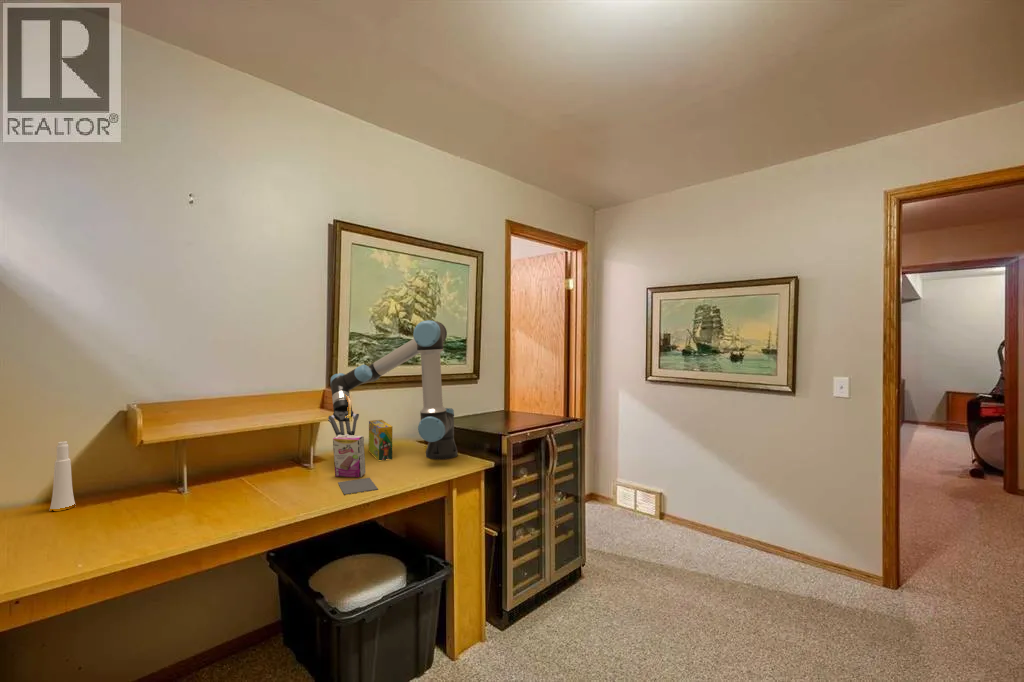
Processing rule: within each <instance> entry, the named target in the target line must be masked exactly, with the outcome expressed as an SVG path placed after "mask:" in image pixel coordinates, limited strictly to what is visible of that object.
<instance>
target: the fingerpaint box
mask: <svg viewBox="0 0 1024 682" xmlns="http://www.w3.org/2000/svg"><path fill="white" fill-rule="evenodd" d="M369 451H370V452H371V453H372V454H373V455H374V456H375V457H376V458H377V459H378V460H384V461H387V460H386V459H391V460H393V425H392V424H391V425H390V424H389V423H388V422H386V421H384V420H383V419H373V420H369V421H368V452H369ZM370 452H369V453H370ZM371 453H370V454H371ZM372 454H371V455H372ZM373 455H372V456H373ZM374 456H373V457H374ZM375 457H374V458H375ZM376 458H375V459H376ZM377 459H376V460H377ZM378 460H377V461H378Z"/></svg>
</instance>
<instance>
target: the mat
mask: <svg viewBox="0 0 1024 682" xmlns="http://www.w3.org/2000/svg"><path fill="white" fill-rule="evenodd" d="M337 484H339V485H338V486H339V488H340V490H341V492H342V494H343V493H344V494H343V496H346V495H345V494H349V495H352V494H351V493H355V494H358V493H357V492H361V493H365V492H364V491H367V492H371V491H372V490H373V491H377V490H379V487H377V485H376V484H375V483H374V481H373V480H372V479H371V478H370V477H365V478H358V479H351V480H345V481H344V480H343V481H339V482H337Z"/></svg>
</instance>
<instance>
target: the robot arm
mask: <svg viewBox="0 0 1024 682" xmlns="http://www.w3.org/2000/svg"><path fill="white" fill-rule="evenodd" d="M447 336H448V331H447V328H446V326H445V325H444V324H443V323H442V322H440V321H437V320H431V319H427V320H423V321H420V322H418V324H416V325H415V327H414V329H413V338H412V339H410V340H409V341H407V342H405V343H404V344H402V345H400V346H399V347H397V348H396V349H394V350H392V351H391V352H389V353H386V354H385V355H384V356H382V357H380V358H379V359H377V360H376V361H373V363H371V364H369V365H367V364H361V365H359V366H357V367H355V368H354V369H352V370H350V371H349V372H347V373H342V372H339V373H335V374H333V375H332V376H331V377H330V384H329V385H330V386H329V387H330V390H331V398H332V409H333V414H332V415H328V418H327V421H328V422H329V423H330V425H331V427H332V429H333V431H334V433H335V437H336V436H337V435H355V434H356V427H357V422H358V420H359V417H360V413H354V411H353V408H352V406H351V418H352V419H353V423H352V428H351V423H350V420H349V418H347V417H346V418H345V416H347V415H348V411H347V407H348V402H347V400H346V396H345V394H346V395H347V396H349V398H350V399H351V397H350V391H352V390H354V389H355V388H357V387H359V386H360V385H363V384H367V383H372V382H375V381H377V380H379V378H381V377H382V376H384V375H385V374H387V373H389V372H391V371H392V370H394V369H396V368H397V367H399V366H401V365H402V364H404V363H405V362H407V361H409V360H411V359H412V358H413V357H416V356H417V355H419V354H420V364H421V386H422V402H423V403H422V404H423V407H422V409H421V410H420V413H419V414H420V421H419V423H418V427H417V433H418V434H419V436H420V438H421V439H423V440H424V441H425V442H428V443H427V446H426V450H425V457H426V458H427V459H430V460H447V459H448V460H449V459H454V458H455V457H457V456H458V448H457V445H456V441H455V437H454V436H455V411H454V409H453V408H450V407H444V406H443V403H444V402H443V388H442V386H443V385H442V384H443V383H442V369H441V368H442V366H441V364H442V363H441V353H442V352H443V350H444V342H445V341H446V339H447ZM328 419H329V420H328ZM336 421H338V424H339V426H338V425H337V422H336ZM344 424H345V425H344ZM344 426H345V427H344ZM345 429H346V433H345Z"/></svg>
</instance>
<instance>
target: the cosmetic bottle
mask: <svg viewBox="0 0 1024 682" xmlns="http://www.w3.org/2000/svg"><path fill="white" fill-rule="evenodd" d="M53 470H54V471H53V484H52V485H53V486H52V496H51V503H50V507H49V510H50V509H60V508H65V507H69V506H72V505H74V504H75V505H76V502H75V501H76V500H75V497H74V490H73V488H74V487H73V477H72V476H73V475H72V474H73V473H72V461H71V458H69V444H68V441H65V440H64V441H59V442H57V444H56V459H55V461H54V467H53Z"/></svg>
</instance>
